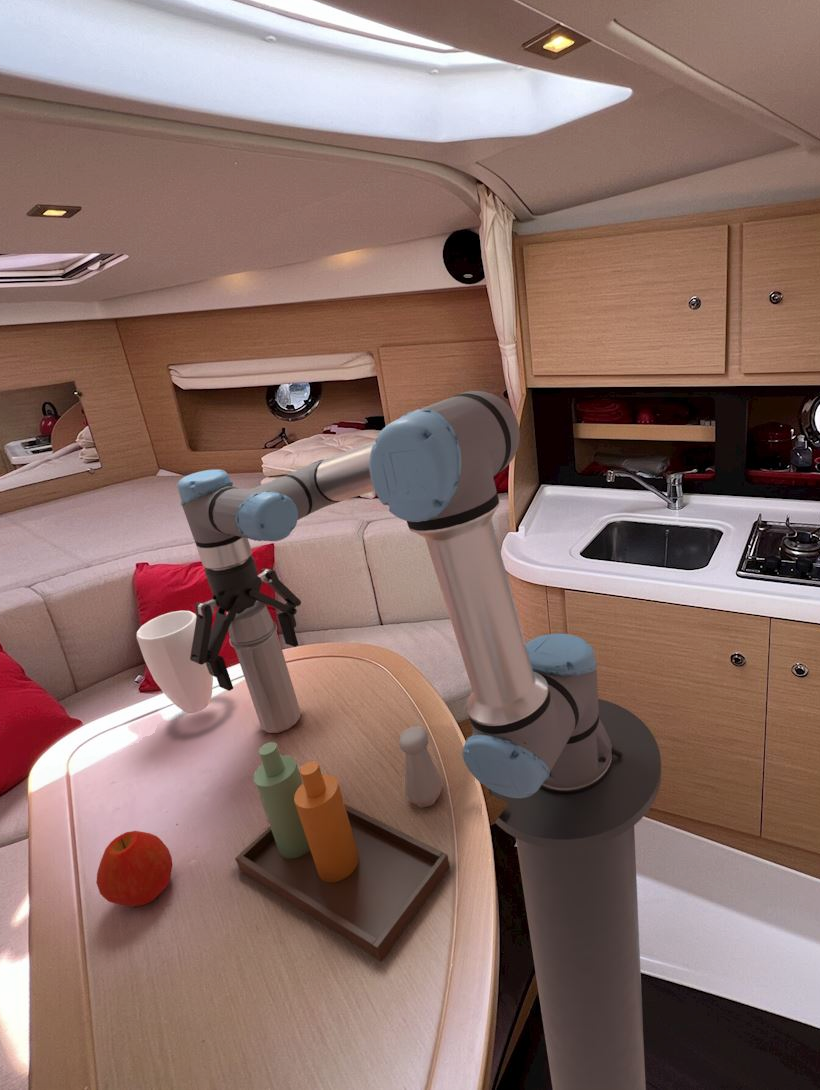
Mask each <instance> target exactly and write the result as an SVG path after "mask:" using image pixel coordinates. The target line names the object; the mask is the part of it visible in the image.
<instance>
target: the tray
mask: <svg viewBox="0 0 820 1090" xmlns="http://www.w3.org/2000/svg"><path fill="white" fill-rule="evenodd" d="M344 805H345V808H346V812H347V815H348V819H349V822H350V826H351V829H352V833H353V836H354V840H355V843H356V847H357V850H358V853H359V861H358V864H357V866H356V868H355V869H354V871H353V872H352V873H351V874H350V875H349V876H348V877H346V878H344V879H343V880H340V881H338V882H332V883H329V882H325V881H323V880H322V879H321V878H320V877H319V875H318V872H317V868H316V865H315V862H314V859H313V856H312V853H311V850H310V851H309V852H307V853H306V854H304V855H303V856H300V857H298V858H293V859H288V858H284V857H283V856H281V854H280V853H279V850H278V847H277V844H276V842H275V839H274V836H273V833H272V830H271V828H270V825H269V826H268V827H267V828H265V830H264V831H263V832H261V834H259V835H258V837H256V838H255V839H254V840H253V841H252V842H250V844H249V845H247V846H246V847H245V848H244V849H243V850H242V851H241V852H240V853H239V854H238V855H237V856H236V857H234V859H235V862H236V865H237V867H238V869H239V871H240V872H241V873H242V874H244V875H246V876H247V877H249V878H251V879H252V880H254V881H255V882H257V883H259V884H260V885H262V886H263V887H265V889H268V890H269V891H271V892H272V893H274V894H275V895H277V896H278V897H280V898H281V899H283V900H284V901H287V903H289V904H291V905H292V906H294V907H296V908H297V909H299V910H300V911H302V912H303V913H305V914H307V915H308V916H309V917H310V918H313V919H314V920H316V921H318V922H319V923H321V925H323V926H325V927H326V928H329V929H330V930H331V931H333V932H334V933H336V934H338V935H339V936H341V937H342V938H344V939H345V940H347V941H349V942H350V943H351V944H353V945H355V946H356V947H358V948H359V949H361V950H362V951H364V952H365V953H367V954H369V955H370V956H372V958H373V957H374V958H375V959H376V960H378V961H380V962H382V961H383V960H384V959H385V957H386V956H387V955H388V953H389V952H390V950H392V948H393V947H394V945H395V944H396V942H397V941H398V939H400V937H401V935H402V934H403V932H404V931H405V930H406V928H408V926H409V924H410V923H411V922H412V920H413V919H414V918H415V916H416V915H417V913H419V911H420V910H421V908H422V907H423V906H424V904H425V903H426V901H427V900H428V899H429V898H430V896H431V895H432V893H433V892H434V890H435V889H436V888H437V886H438V885H439V884H440V882H441V881H442V879H443V878H444V877H445V876H446V874H447V873H448V871H449V870H450V869H451V865H450V860H449V855H448V854H447V853H445V852H443V851H441V850H439V849H437V848H435V847H434V846H431V845H429V844H427V843H425V842H423V841H420V840H419V839H416V838H414V837H412V836H411V835H409V834H406V833H405V832H403V831H400V830H398V829H397V828H394V827H393V826H390V825H388V824H386V823H384V822H382V821H380V820H378V819H376V818H374V817H372V816H371V815H368V814H367V813H364V812H362V811H360V810H358V809H356V808H354V807H352V806H351V805H348V804H346V803H344Z"/></svg>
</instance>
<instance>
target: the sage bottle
mask: <svg viewBox="0 0 820 1090" xmlns="http://www.w3.org/2000/svg"><path fill="white" fill-rule="evenodd" d="M257 753H258V755H259V758H260V761H261V765H259V766H258V767H257V769H256V770H255V772H254V773H253V783H254V786H255V788H256V791H257V794H258V796H259V800H260V802H261V805H262V807H263V810H264V813H265V816H266V820H267V823H268V825H269V826H270V828H271V830H272V833H273V836H274V839H275V842H276V844H277V847H278V850H279V853H280V854H281V856H283V857H284V858H288V859H293V858H298V857H300V856H303V855H304V854H306V853H307V852H309V851H310V847H309V844H308V841H307V838H306V835H305V832H304V829H303V826H302V823H301V820H300V817H299V814H298V811H297V808H296V805H295V802H294V796H295V793H296V791H297V789H298V788H299V787H300V785H301V784H303V781H302V778H301V775H300V769H299V766H298V763H297V760H296V759H295V757H293V756H292V755H287V754H281V752H280V750H279V747H278V743H276V742H275V741H269V742H266V743H264V744H263V745H261V746H260V747H259V749H258V752H257Z"/></svg>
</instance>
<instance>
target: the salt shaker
mask: <svg viewBox="0 0 820 1090" xmlns="http://www.w3.org/2000/svg"><path fill="white" fill-rule="evenodd" d="M398 739H399V740H398V742H399V745H398V746H399V749H400V750H401V751H402V752H403V753H404V795H405V797H406V798H407V799H408V800H409V802H411V803H412V804H414V805H415V806H416V807H418V808H419V809H423V808H426V807H432V806H433V805H434V804H435V802H436V801H437V800H438V798H439V797H440V795H441V791H442V787H443V782H442V776H441V774H440V772H439V770H438V768H437V767H436V764H435V762H434V760H433V758H432V756H431V754H430V751H429V750H428V745H429V735H428V732H427V730H426V729H425V728H424V727H421V726H418V725H417V726H416V725H415V726H410V727H408V728H406V729H405V730H404V731H402V732H401V734H400V735H399V737H398Z"/></svg>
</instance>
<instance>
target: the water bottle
mask: <svg viewBox="0 0 820 1090" xmlns="http://www.w3.org/2000/svg"><path fill="white" fill-rule="evenodd" d="M267 606H268V605H266V604H265V603H263V602H260V601H256V602H255V605H254V606H252V607H250V608H247V609H245V610H244V611H243V612H242V613H240V614H236V616H235V618H234V620H233V621H232V622H231V623H230V626H229V629H228V631H227V632H228V635H229V640H228V642H229V645H230V646H231V647H232V648H233V649H234V650H235V653H236V657H237V659H238V662H239V665H240V668H241V671H242V674H243V677H244V680H245V682H246V683H245V684H246V687H247V690H248V691H249V694H250V699H251V701H252V704H253V707H254V709H255V712H256V716H257V719H258V721H259V724H260V727H261V729H262V730H263V731H265V732H266V733H268V734H278V733H279V734H280V733H281V732H285V731H287V730H290V728H292V727H293V726H295V725H296V724H297V722H298V721H299V719H300V718H301V716H302V715H301V707H300V705H299V702H298V701H299V700H298V698H297V695H296V691H295V688H294V684H293V681H292V678H291V675H290V671H289V668H288V665H287V662H286V661H287V660H286V658H285V655H284V652H283V648H282V645H281V642H280V639H279V635H278V632H277V630H278V625H277V623H276V622H275V621H273V618H272V616H271V614H270V611H269V609H268V607H267ZM227 614H228V612H227V611H226V612H225V615H227Z"/></svg>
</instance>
